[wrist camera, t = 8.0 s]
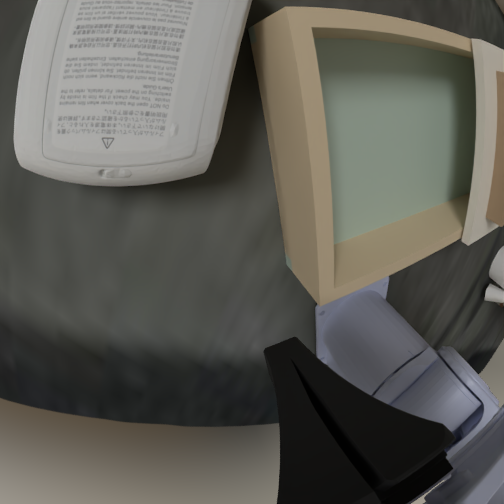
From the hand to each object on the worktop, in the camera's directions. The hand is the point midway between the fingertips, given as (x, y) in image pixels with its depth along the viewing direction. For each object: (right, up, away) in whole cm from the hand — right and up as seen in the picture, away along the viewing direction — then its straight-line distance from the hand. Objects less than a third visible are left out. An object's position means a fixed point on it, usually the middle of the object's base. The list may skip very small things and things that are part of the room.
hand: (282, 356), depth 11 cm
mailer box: (+12, +14, +8) cm, 20 cm away
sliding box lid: (+27, +16, +6) cm, 31 cm away
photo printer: (-6, +19, -4) cm, 20 cm away
